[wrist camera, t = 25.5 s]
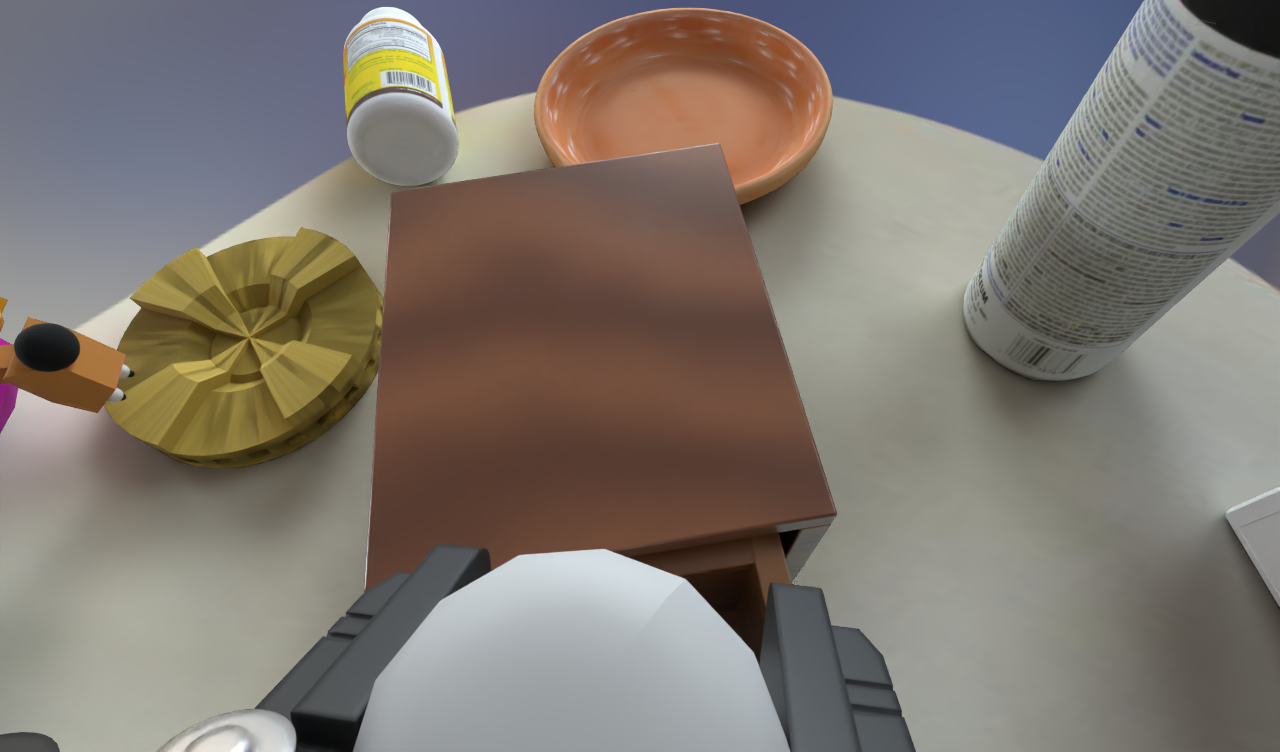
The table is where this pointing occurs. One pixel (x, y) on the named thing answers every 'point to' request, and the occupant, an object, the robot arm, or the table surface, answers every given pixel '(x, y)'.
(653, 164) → the cabinet
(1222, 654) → the table surface
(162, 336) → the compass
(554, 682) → the salt shaker
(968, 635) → the table surface
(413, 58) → the supplement bottle
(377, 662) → the robot arm
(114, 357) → the toy
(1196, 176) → the spray can
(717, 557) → the drawer
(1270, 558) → the perfume bottle
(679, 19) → the saucer
